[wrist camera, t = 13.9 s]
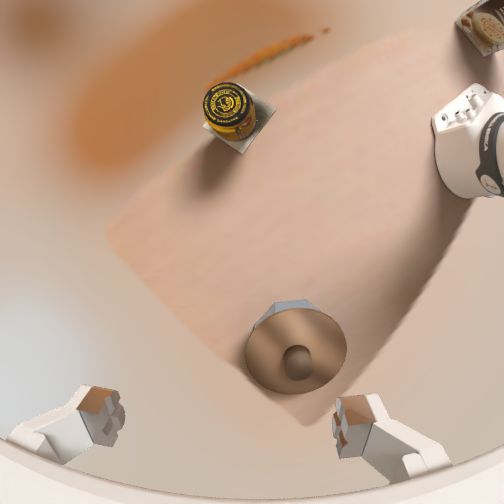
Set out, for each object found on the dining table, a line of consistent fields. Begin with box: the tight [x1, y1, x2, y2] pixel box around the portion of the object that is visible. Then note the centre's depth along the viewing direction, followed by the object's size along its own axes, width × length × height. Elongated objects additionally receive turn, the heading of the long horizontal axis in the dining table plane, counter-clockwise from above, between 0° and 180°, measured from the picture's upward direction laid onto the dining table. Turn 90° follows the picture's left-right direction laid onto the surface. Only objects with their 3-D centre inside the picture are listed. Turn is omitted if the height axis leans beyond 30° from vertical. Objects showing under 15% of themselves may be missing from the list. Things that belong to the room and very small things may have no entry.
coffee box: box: [454, 0, 504, 57], centre depth 28 cm, size 9×6×16 cm
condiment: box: [203, 82, 276, 154], centre depth 36 cm, size 7×8×12 cm
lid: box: [246, 308, 347, 394], centre depth 42 cm, size 15×15×4 cm
